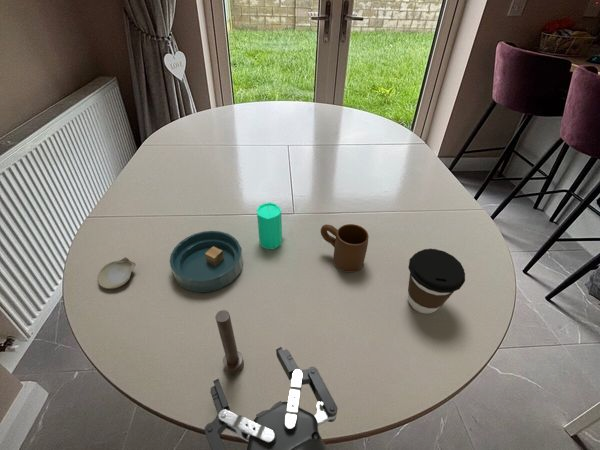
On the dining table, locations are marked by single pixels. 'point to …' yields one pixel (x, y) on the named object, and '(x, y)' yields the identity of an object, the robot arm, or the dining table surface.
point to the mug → (347, 245)
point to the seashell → (115, 273)
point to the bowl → (195, 268)
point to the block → (214, 256)
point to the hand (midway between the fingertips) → (248, 366)
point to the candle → (269, 225)
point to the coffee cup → (433, 279)
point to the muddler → (229, 343)
